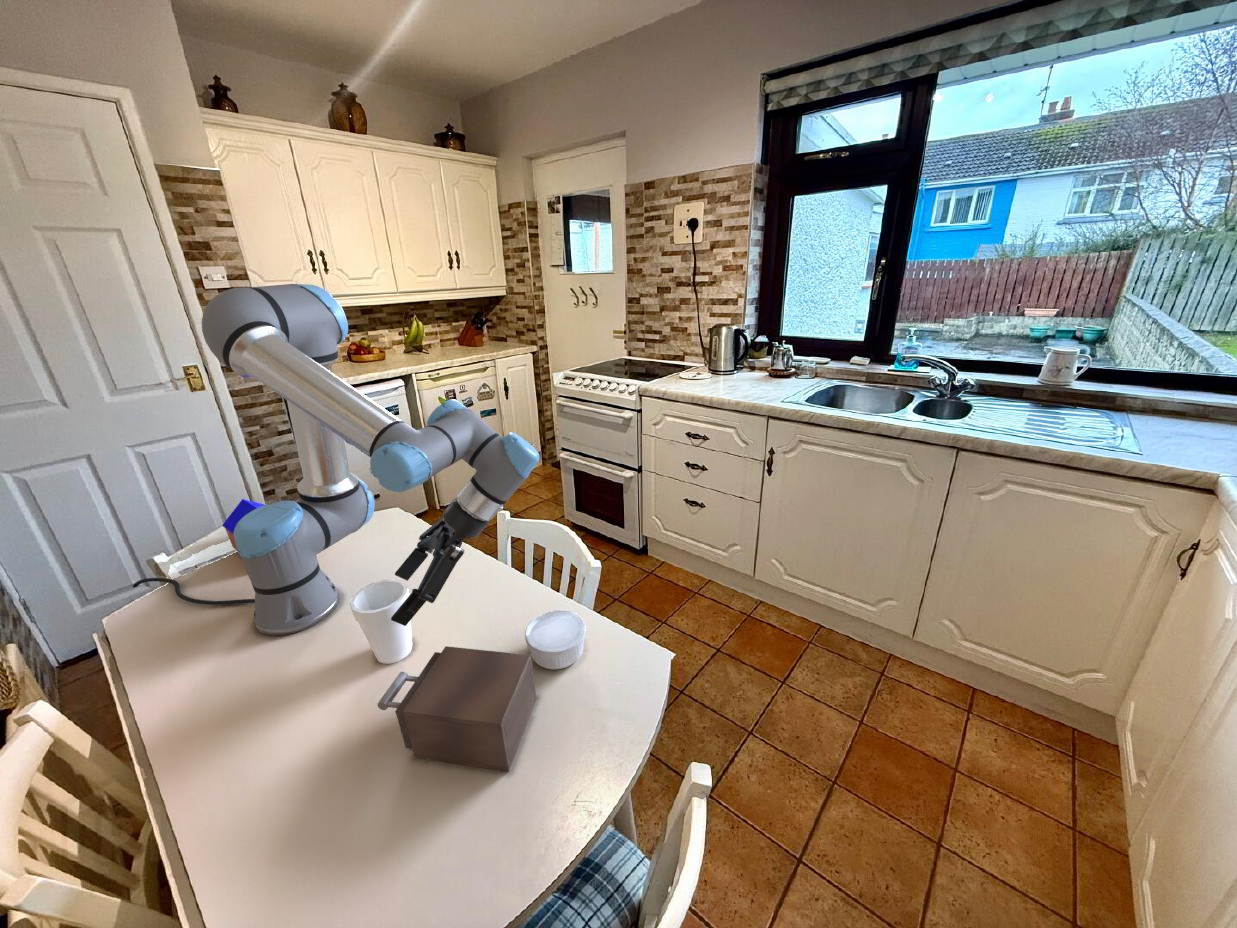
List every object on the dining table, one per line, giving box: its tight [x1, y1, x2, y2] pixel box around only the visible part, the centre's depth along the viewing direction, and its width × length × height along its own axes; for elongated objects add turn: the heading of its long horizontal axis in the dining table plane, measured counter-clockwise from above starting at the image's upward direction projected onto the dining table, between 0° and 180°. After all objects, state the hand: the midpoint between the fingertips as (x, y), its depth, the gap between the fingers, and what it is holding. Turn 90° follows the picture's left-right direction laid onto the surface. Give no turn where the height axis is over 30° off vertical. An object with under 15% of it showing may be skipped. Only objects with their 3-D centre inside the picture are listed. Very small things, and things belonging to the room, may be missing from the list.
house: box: [221, 498, 266, 551], centre depth 124 cm, size 12×20×12 cm, turn 54°
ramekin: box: [524, 609, 587, 670], centre depth 89 cm, size 11×11×5 cm
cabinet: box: [403, 645, 537, 772], centre depth 74 cm, size 15×13×10 cm
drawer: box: [376, 651, 441, 750], centre depth 75 cm, size 19×11×8 cm, turn 81°
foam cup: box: [349, 578, 413, 665], centre depth 89 cm, size 10×9×13 cm
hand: (399, 598), depth 88 cm, fingers open, 13 cm apart
